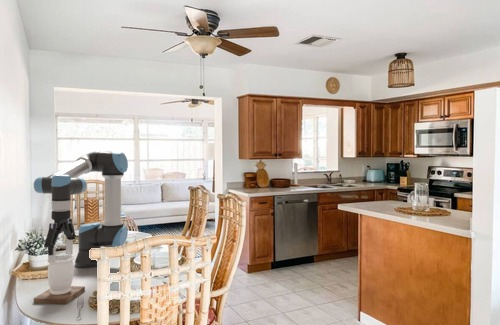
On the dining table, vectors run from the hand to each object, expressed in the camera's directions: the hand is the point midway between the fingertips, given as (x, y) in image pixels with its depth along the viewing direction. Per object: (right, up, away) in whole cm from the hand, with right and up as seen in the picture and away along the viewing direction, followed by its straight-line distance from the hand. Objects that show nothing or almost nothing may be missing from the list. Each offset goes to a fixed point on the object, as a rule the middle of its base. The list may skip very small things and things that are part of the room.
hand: (60, 258), depth 166 cm
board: (0, -17, 0) cm, 17 cm away
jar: (0, -15, 0) cm, 15 cm away
